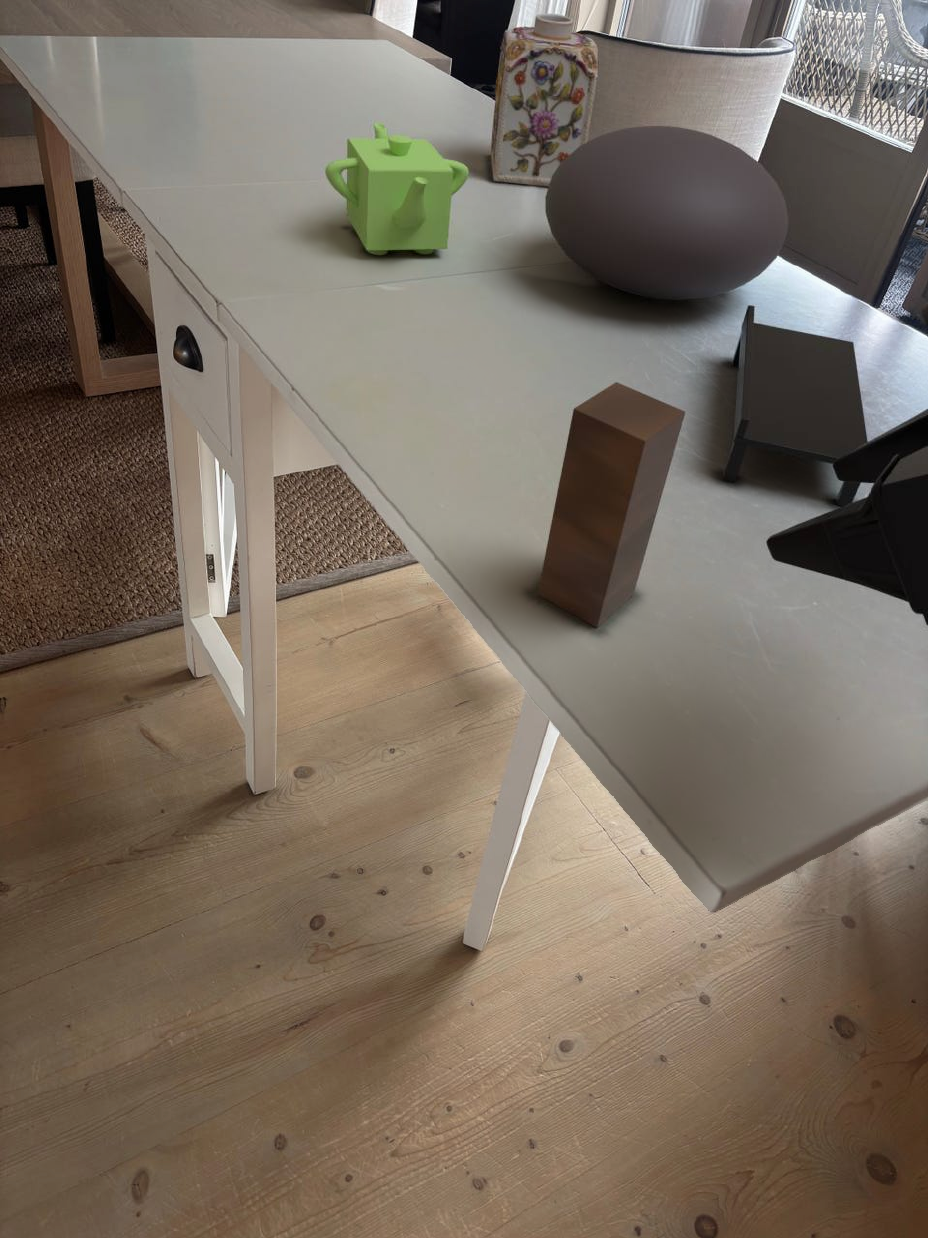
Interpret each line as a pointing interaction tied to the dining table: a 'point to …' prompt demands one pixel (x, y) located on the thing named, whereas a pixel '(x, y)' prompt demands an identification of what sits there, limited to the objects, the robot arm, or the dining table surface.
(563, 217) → the smooth stone
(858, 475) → the robot arm
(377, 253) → the teapot
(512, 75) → the decorative jar
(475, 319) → the dining table surface
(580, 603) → the walnut block
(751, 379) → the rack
